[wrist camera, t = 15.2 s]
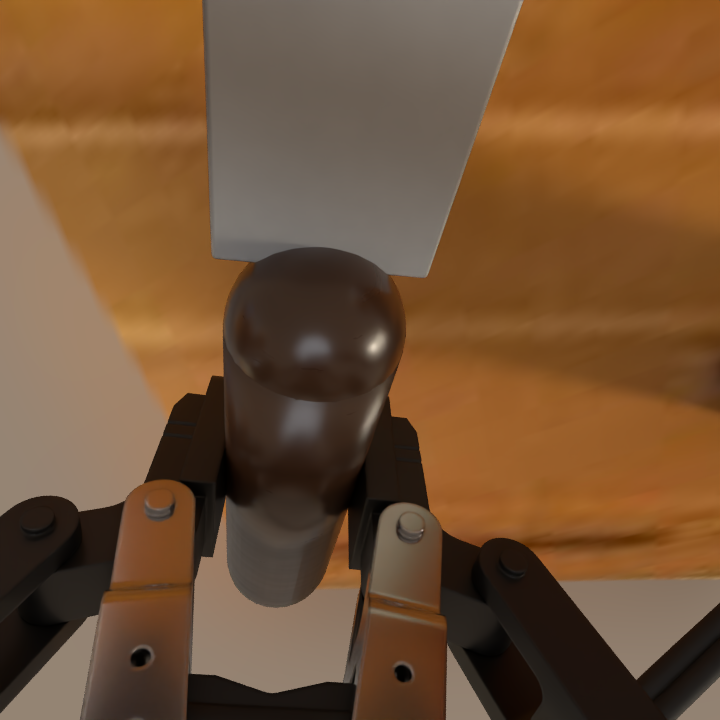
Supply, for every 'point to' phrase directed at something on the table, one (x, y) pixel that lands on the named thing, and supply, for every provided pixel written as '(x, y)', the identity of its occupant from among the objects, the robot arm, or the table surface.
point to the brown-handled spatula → (327, 240)
